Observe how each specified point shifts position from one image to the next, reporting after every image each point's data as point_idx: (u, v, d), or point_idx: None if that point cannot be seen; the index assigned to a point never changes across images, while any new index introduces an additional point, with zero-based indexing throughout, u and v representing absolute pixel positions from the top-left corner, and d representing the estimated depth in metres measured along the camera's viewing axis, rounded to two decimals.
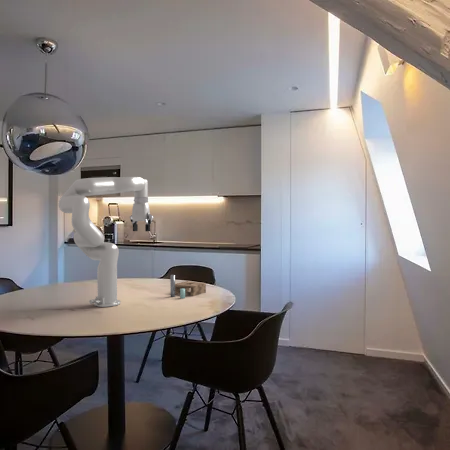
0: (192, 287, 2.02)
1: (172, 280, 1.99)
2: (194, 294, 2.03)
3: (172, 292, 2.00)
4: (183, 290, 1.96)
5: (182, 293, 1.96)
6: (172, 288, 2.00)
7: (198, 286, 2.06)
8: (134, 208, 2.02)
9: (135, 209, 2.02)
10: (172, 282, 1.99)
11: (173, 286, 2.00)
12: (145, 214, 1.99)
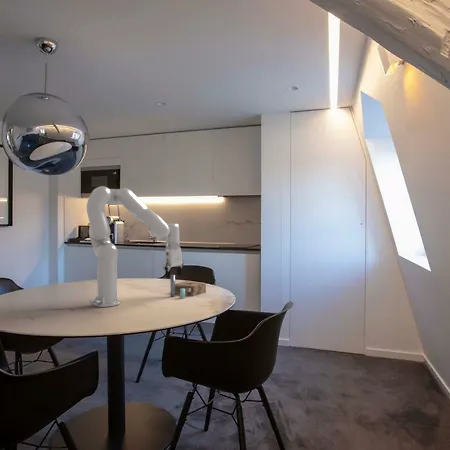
0: (192, 287, 2.02)
1: (172, 280, 1.99)
2: (194, 294, 2.03)
3: (172, 292, 2.00)
4: (183, 290, 1.96)
5: (182, 293, 1.96)
6: (172, 288, 2.00)
7: (198, 286, 2.06)
8: (173, 254, 1.97)
9: (175, 255, 1.98)
10: (172, 282, 1.99)
11: (173, 286, 2.00)
12: None
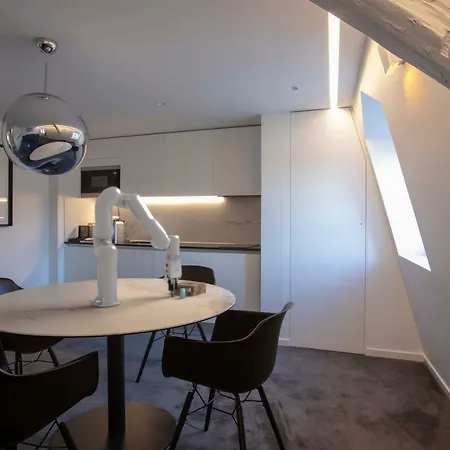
0: (192, 287, 2.02)
1: None
2: (194, 294, 2.03)
3: (172, 292, 2.00)
4: (183, 290, 1.96)
5: (182, 293, 1.96)
6: None
7: (198, 286, 2.06)
8: (173, 266, 1.97)
9: (175, 266, 1.98)
10: None
11: (173, 286, 2.00)
12: None
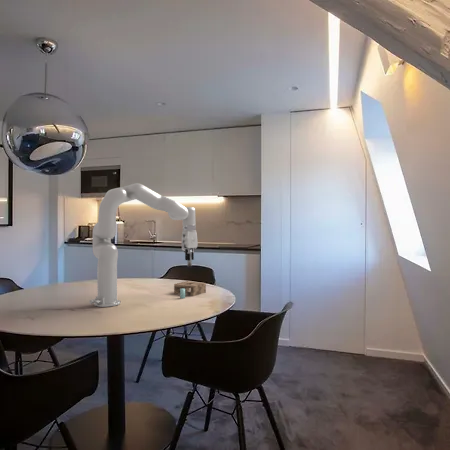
0: (192, 287, 2.02)
1: (189, 250, 2.09)
2: (194, 294, 2.03)
3: (189, 261, 2.09)
4: (183, 290, 1.96)
5: (182, 293, 1.96)
6: None
7: (198, 286, 2.06)
8: (189, 236, 2.06)
9: (191, 237, 2.07)
10: (189, 252, 2.09)
11: (190, 256, 2.09)
12: None
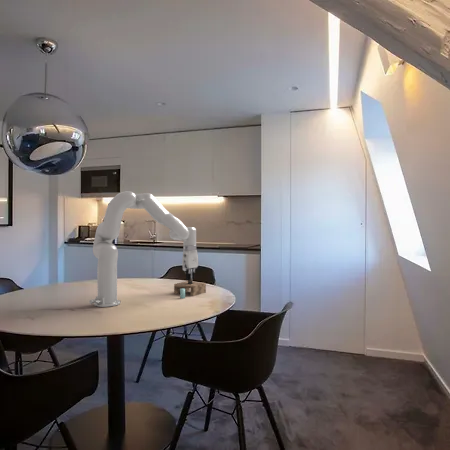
0: (192, 287, 2.02)
1: None
2: (194, 294, 2.03)
3: (190, 281, 2.09)
4: (183, 290, 1.96)
5: (182, 293, 1.96)
6: None
7: (198, 286, 2.06)
8: (190, 256, 2.07)
9: (192, 257, 2.08)
10: None
11: None
12: None
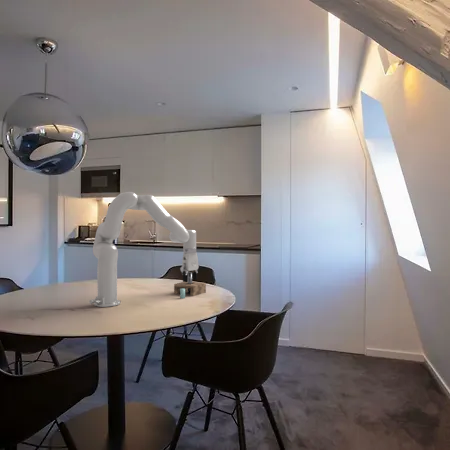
0: (192, 287, 2.02)
1: (189, 277, 2.09)
2: (194, 294, 2.03)
3: (189, 289, 2.09)
4: (183, 290, 1.96)
5: (182, 293, 1.96)
6: None
7: (198, 286, 2.06)
8: (190, 259, 2.07)
9: (192, 259, 2.08)
10: (189, 279, 2.09)
11: (190, 283, 2.09)
12: None
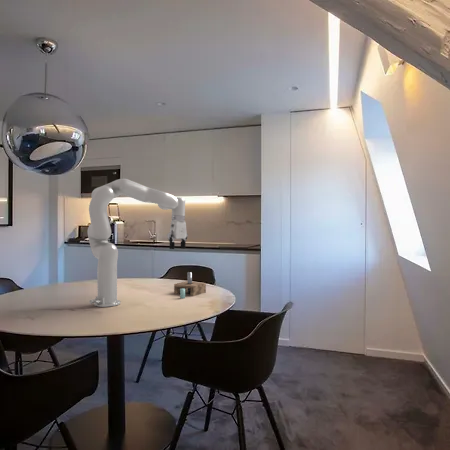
0: (192, 287, 2.02)
1: (189, 277, 2.09)
2: (194, 294, 2.03)
3: (189, 289, 2.09)
4: (183, 290, 1.96)
5: (182, 293, 1.96)
6: None
7: (198, 286, 2.06)
8: (178, 226, 2.04)
9: (180, 227, 2.05)
10: (189, 279, 2.09)
11: (190, 283, 2.09)
12: None
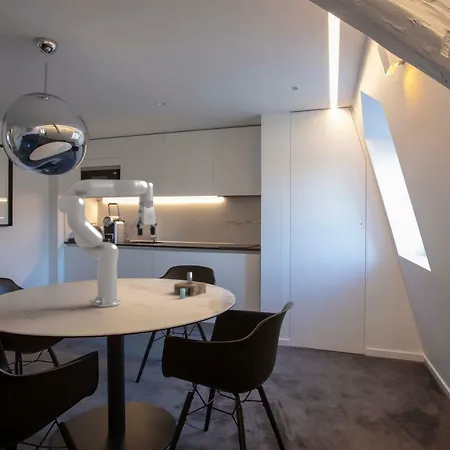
0: (192, 287, 2.02)
1: (189, 277, 2.09)
2: (194, 294, 2.03)
3: (189, 289, 2.09)
4: (183, 290, 1.96)
5: (182, 293, 1.96)
6: None
7: (198, 286, 2.06)
8: (146, 212, 1.97)
9: (148, 213, 1.99)
10: (189, 279, 2.09)
11: (190, 283, 2.09)
12: None
